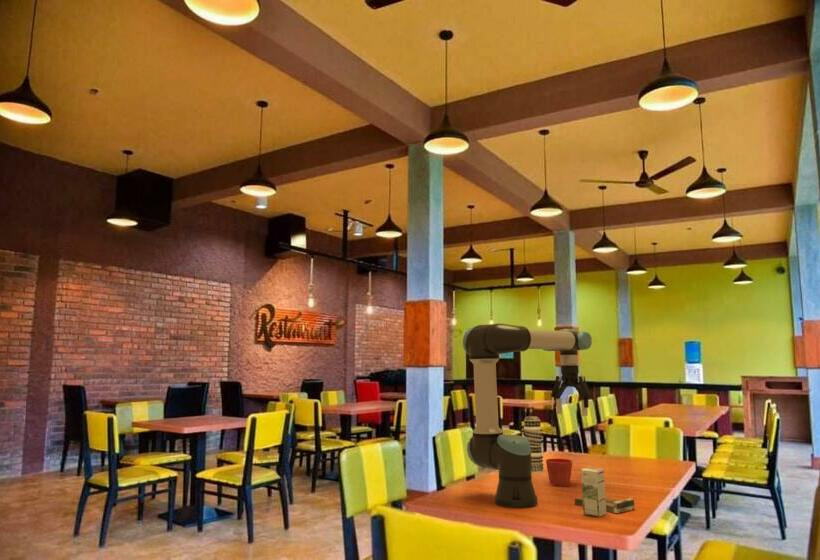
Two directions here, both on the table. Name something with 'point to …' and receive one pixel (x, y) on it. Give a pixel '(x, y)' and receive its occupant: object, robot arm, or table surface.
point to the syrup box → (593, 491)
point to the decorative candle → (534, 442)
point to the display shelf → (613, 504)
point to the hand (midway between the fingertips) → (571, 414)
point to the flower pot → (559, 471)
